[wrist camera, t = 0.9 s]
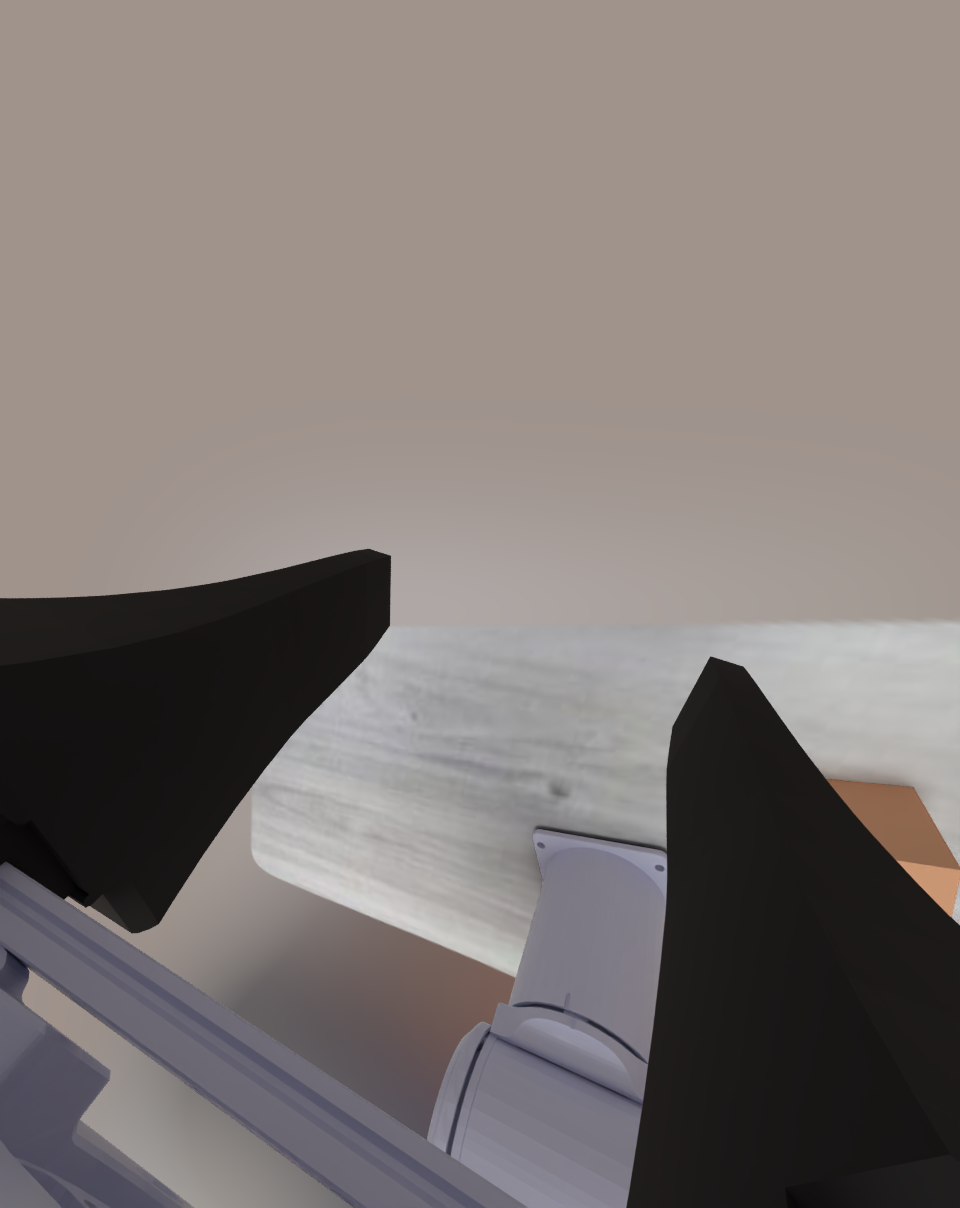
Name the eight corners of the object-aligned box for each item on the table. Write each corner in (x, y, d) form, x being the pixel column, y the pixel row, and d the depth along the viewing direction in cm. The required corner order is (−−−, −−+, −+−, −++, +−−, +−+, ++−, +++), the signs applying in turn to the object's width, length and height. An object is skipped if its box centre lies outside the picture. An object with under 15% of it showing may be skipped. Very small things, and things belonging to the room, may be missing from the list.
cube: (902, 854, 20) (945, 945, 17) (796, 838, 22) (816, 918, 19) (912, 786, 19) (961, 870, 16) (799, 775, 21) (821, 848, 17)
